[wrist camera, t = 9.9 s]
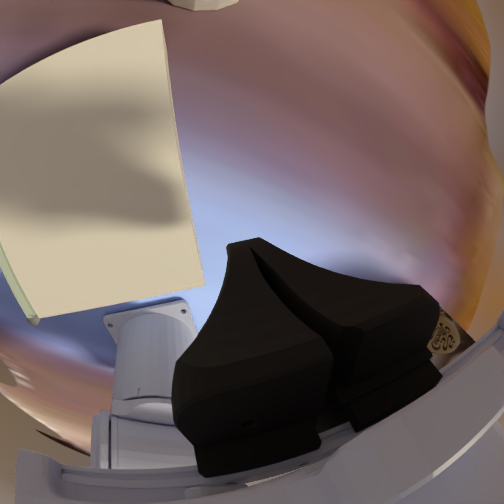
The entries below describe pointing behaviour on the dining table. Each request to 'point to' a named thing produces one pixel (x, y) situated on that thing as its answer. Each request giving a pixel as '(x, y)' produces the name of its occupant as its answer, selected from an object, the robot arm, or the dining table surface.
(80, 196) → the cabinet
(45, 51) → the dining table surface
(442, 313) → the coffee box
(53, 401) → the dining table surface
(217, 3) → the white cup
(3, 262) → the door
